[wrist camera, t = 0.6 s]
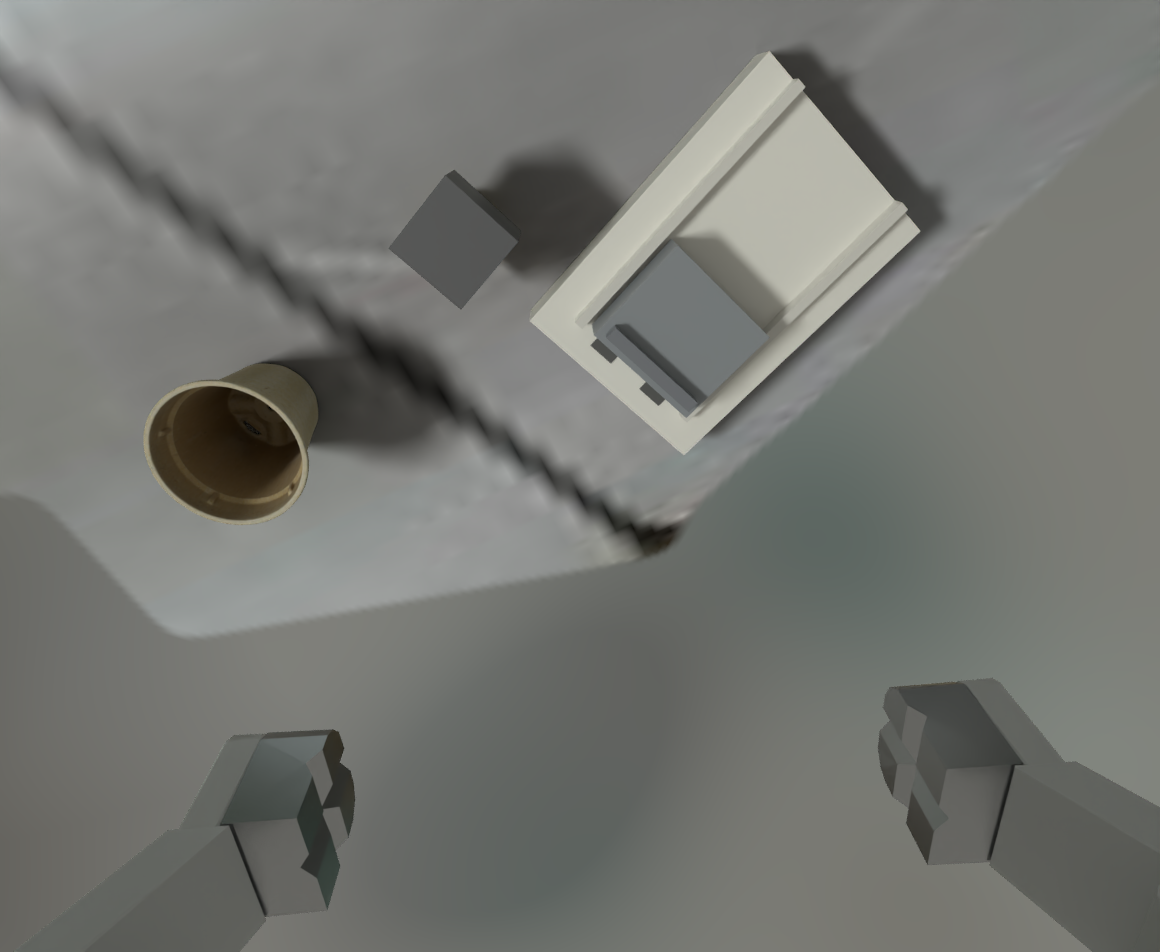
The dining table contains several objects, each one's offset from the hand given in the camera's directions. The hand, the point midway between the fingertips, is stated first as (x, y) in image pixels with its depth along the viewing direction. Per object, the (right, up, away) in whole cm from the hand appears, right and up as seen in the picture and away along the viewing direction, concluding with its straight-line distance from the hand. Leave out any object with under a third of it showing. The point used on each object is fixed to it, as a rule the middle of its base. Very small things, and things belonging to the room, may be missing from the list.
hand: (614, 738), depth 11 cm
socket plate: (+8, +18, +37) cm, 42 cm away
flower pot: (-22, +9, +40) cm, 47 cm away
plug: (-8, +20, +35) cm, 41 cm away
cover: (+6, +13, +35) cm, 38 cm away
